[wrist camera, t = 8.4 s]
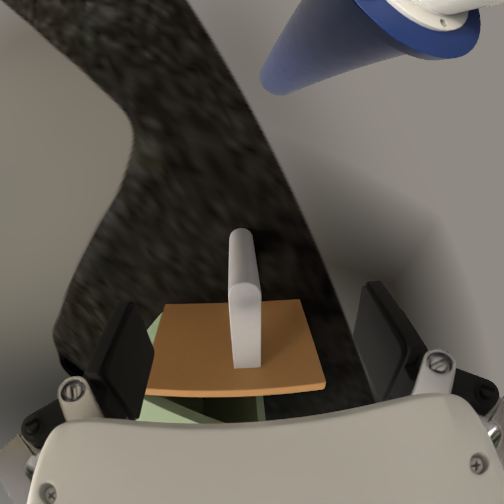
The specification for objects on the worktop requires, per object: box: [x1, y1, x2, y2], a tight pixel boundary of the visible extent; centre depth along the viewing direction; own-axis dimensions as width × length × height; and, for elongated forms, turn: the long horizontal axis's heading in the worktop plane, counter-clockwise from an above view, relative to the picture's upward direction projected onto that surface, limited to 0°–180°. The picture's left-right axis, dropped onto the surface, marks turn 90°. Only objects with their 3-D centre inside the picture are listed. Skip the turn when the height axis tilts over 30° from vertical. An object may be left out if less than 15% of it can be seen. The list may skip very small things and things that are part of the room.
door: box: [145, 228, 326, 397], centre depth 21 cm, size 8×12×13 cm, turn 91°
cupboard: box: [136, 312, 266, 424], centre depth 26 cm, size 10×12×13 cm
